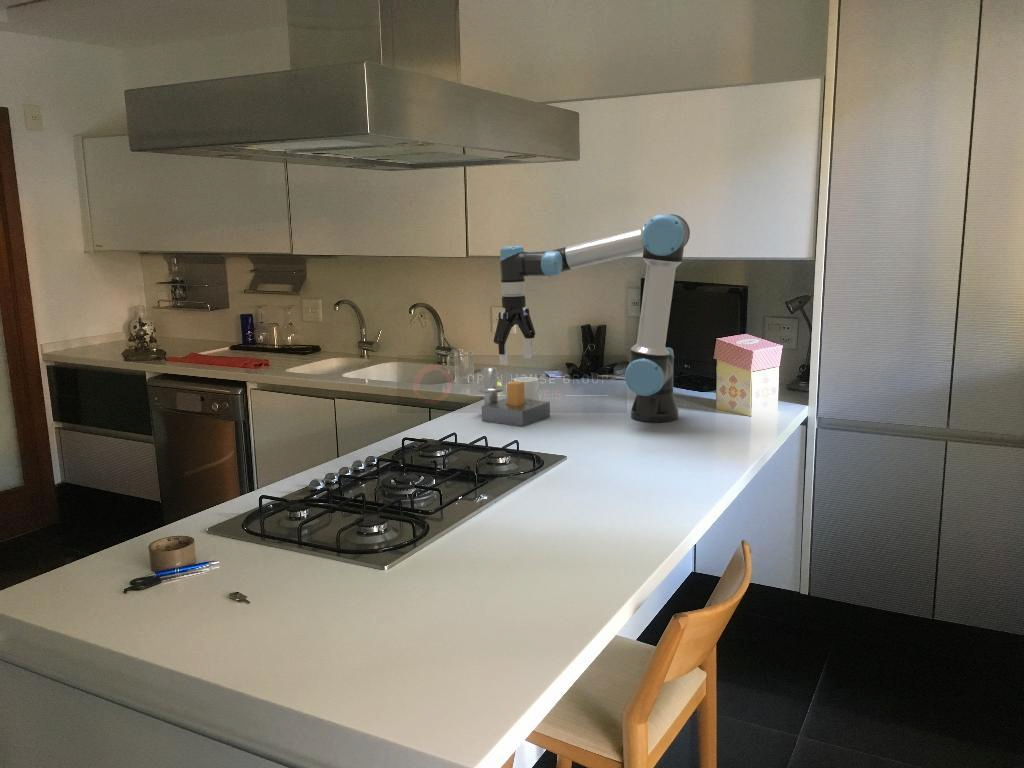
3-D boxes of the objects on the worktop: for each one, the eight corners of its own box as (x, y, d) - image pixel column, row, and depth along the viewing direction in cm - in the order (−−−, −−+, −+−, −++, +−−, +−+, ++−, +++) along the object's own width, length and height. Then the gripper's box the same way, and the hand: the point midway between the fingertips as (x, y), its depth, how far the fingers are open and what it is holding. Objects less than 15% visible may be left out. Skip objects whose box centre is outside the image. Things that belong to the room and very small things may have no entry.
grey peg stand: (549, 416, 274) (549, 368, 271) (522, 426, 262) (521, 376, 259) (495, 409, 287) (494, 363, 284) (466, 418, 274) (465, 370, 271)
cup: (534, 411, 283) (533, 381, 281) (501, 409, 287) (500, 380, 285) (541, 406, 291) (541, 377, 289) (509, 404, 295) (509, 376, 293)
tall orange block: (524, 418, 273) (524, 382, 271) (517, 420, 270) (517, 384, 268) (514, 417, 275) (513, 381, 273) (507, 419, 272) (506, 383, 270)
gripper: (525, 291, 277) (527, 355, 281) (480, 298, 257) (483, 366, 261) (544, 292, 273) (546, 356, 277) (500, 298, 253) (503, 367, 257)
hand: (516, 361), depth 269 cm, fingers open, 13 cm apart
